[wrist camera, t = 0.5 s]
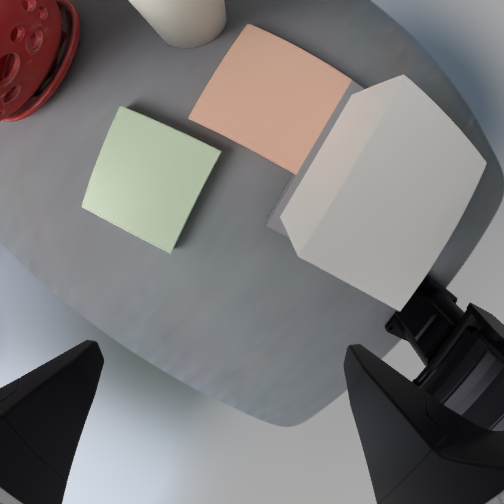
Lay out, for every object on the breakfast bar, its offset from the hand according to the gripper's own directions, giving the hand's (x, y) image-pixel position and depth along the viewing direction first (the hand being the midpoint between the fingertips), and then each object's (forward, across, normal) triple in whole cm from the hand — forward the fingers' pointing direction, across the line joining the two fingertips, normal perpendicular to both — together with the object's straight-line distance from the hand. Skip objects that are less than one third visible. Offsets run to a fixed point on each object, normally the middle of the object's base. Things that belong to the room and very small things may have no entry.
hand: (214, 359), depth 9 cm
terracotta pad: (+12, -3, -10) cm, 16 cm away
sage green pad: (+12, +6, -5) cm, 15 cm away
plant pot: (+12, +18, -17) cm, 27 cm away
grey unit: (+13, -9, -4) cm, 16 cm away
